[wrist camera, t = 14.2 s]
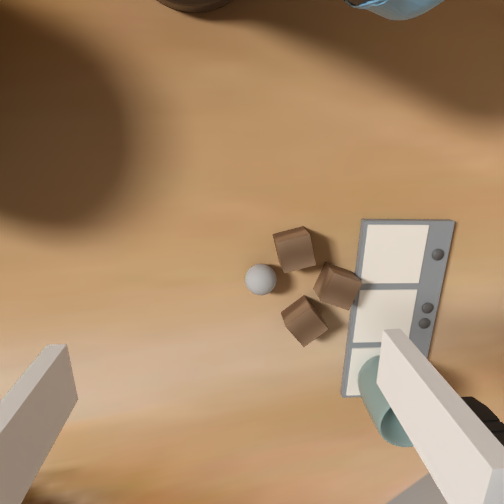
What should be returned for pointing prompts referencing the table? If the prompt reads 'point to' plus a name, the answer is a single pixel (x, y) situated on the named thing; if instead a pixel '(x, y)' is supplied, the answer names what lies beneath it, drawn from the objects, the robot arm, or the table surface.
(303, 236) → the walnut block
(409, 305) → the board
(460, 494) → the robot arm
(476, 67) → the table surface
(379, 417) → the cup
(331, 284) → the walnut block
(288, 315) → the walnut block
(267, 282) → the grey ball
